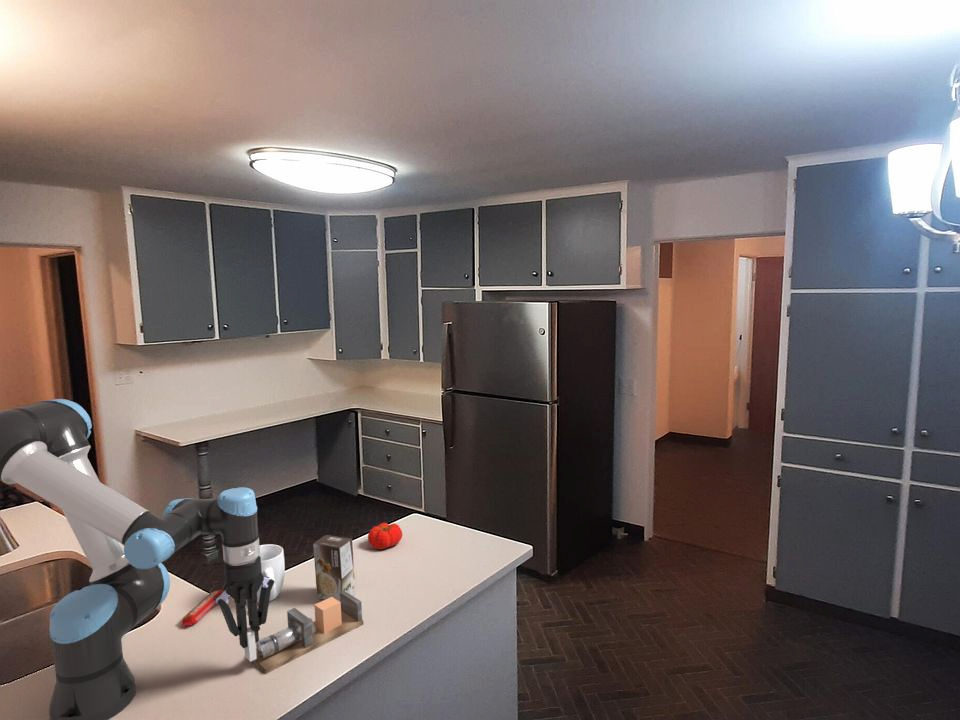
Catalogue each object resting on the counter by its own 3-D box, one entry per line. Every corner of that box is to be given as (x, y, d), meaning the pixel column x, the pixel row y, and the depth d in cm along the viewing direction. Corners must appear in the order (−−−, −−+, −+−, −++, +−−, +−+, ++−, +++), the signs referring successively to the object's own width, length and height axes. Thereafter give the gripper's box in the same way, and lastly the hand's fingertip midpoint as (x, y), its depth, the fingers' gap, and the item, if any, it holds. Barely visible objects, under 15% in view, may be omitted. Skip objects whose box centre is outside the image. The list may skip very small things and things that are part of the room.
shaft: (264, 662, 133) (263, 645, 133) (256, 654, 136) (255, 638, 136) (316, 637, 143) (315, 621, 142) (307, 630, 145) (306, 615, 145)
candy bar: (214, 596, 165) (214, 586, 165) (227, 597, 165) (226, 587, 164) (179, 629, 150) (178, 618, 149) (192, 630, 149) (191, 619, 149)
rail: (266, 673, 131) (263, 643, 130) (248, 656, 137) (246, 627, 136) (363, 624, 150) (362, 597, 149) (343, 611, 156) (342, 585, 155)
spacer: (324, 633, 144) (322, 610, 143) (315, 627, 147) (314, 604, 146) (341, 624, 148) (340, 602, 147) (333, 618, 151) (331, 596, 150)
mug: (295, 605, 159) (292, 560, 157) (252, 619, 153) (249, 571, 151) (280, 583, 171) (277, 540, 170) (240, 594, 165) (237, 550, 164)
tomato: (363, 547, 194) (362, 529, 193) (386, 535, 203) (385, 517, 202) (384, 555, 188) (384, 535, 187) (407, 542, 197) (407, 523, 196)
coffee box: (356, 592, 165) (353, 538, 163) (343, 604, 159) (340, 548, 157) (329, 587, 168) (326, 534, 166) (315, 598, 163) (312, 543, 161)
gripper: (219, 574, 123) (228, 679, 126) (278, 553, 132) (285, 651, 135) (205, 563, 128) (214, 664, 131) (263, 544, 137) (270, 638, 140)
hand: (250, 657), depth 133 cm, fingers closed
